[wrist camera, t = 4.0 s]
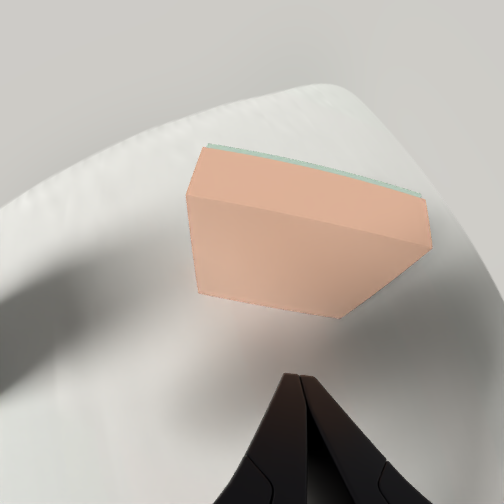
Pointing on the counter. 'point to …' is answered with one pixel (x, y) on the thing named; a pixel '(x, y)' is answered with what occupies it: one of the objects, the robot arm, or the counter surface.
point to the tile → (298, 232)
